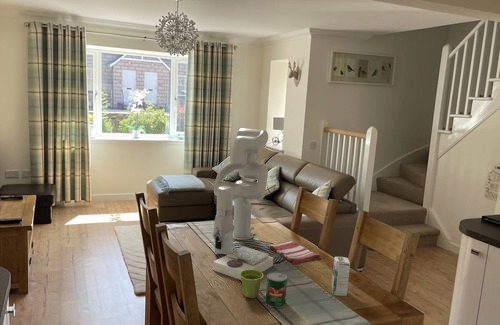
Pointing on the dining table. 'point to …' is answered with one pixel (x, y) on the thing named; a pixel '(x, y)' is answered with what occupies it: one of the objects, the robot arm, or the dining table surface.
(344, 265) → the syrup box
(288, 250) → the dish towel
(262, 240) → the dining table surface
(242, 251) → the scale pan
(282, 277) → the canned tomato
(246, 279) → the plant pot
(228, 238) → the small box
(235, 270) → the scale
